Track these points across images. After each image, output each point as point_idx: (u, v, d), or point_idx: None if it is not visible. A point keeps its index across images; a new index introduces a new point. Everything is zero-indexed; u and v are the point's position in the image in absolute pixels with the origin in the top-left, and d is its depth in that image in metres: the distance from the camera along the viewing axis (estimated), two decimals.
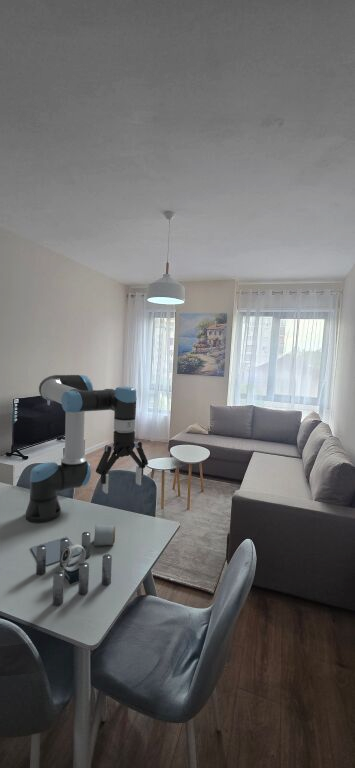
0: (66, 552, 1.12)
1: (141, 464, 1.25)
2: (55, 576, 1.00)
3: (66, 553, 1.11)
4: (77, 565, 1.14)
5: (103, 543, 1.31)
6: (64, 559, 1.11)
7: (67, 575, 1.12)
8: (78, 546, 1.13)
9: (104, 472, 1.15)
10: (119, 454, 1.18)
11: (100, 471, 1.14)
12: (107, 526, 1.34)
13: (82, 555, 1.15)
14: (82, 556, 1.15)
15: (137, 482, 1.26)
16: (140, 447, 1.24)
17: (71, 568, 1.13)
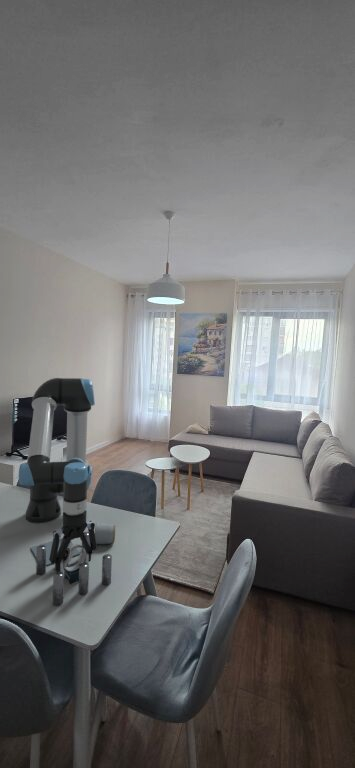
0: (66, 552, 1.12)
1: (88, 549, 1.15)
2: (55, 576, 1.00)
3: (66, 553, 1.11)
4: (77, 565, 1.14)
5: (103, 542, 1.32)
6: (64, 559, 1.11)
7: (67, 575, 1.12)
8: (78, 546, 1.13)
9: (58, 561, 1.08)
10: (69, 538, 1.09)
11: (53, 561, 1.07)
12: (107, 525, 1.35)
13: (82, 555, 1.15)
14: (82, 556, 1.15)
15: None
16: (92, 529, 1.15)
17: (71, 568, 1.13)
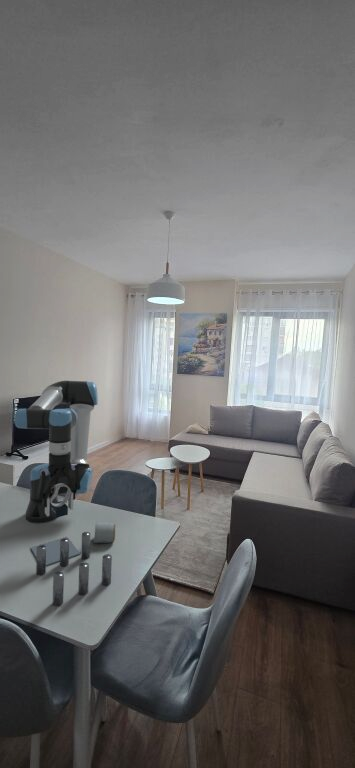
0: (52, 489, 1.23)
1: (73, 488, 1.26)
2: (55, 576, 1.00)
3: (52, 490, 1.23)
4: (62, 502, 1.25)
5: (103, 540, 1.33)
6: (50, 495, 1.22)
7: (53, 510, 1.23)
8: (63, 484, 1.24)
9: (44, 496, 1.20)
10: (55, 476, 1.21)
11: (40, 496, 1.18)
12: (107, 524, 1.36)
13: (67, 493, 1.26)
14: (67, 494, 1.26)
15: (69, 506, 1.27)
16: (76, 470, 1.26)
17: (57, 504, 1.24)
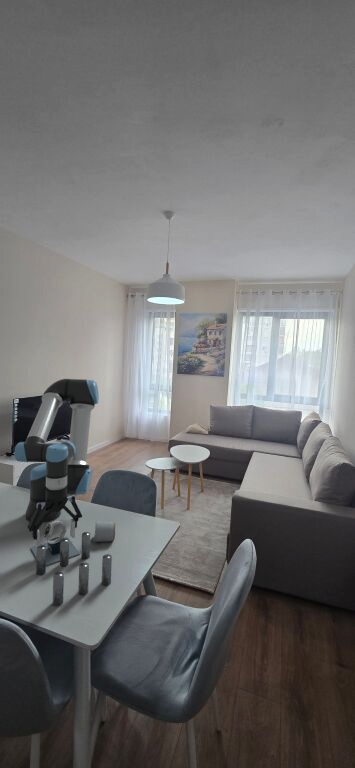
0: (47, 527, 1.25)
1: (74, 517, 1.30)
2: (55, 576, 1.00)
3: (47, 528, 1.25)
4: (59, 538, 1.28)
5: (103, 539, 1.34)
6: (46, 533, 1.24)
7: (49, 547, 1.26)
8: (58, 522, 1.27)
9: (35, 529, 1.21)
10: (50, 510, 1.23)
11: (30, 528, 1.20)
12: (107, 523, 1.37)
13: (63, 530, 1.29)
14: (63, 530, 1.29)
15: (71, 534, 1.31)
16: (73, 501, 1.29)
17: (53, 541, 1.27)
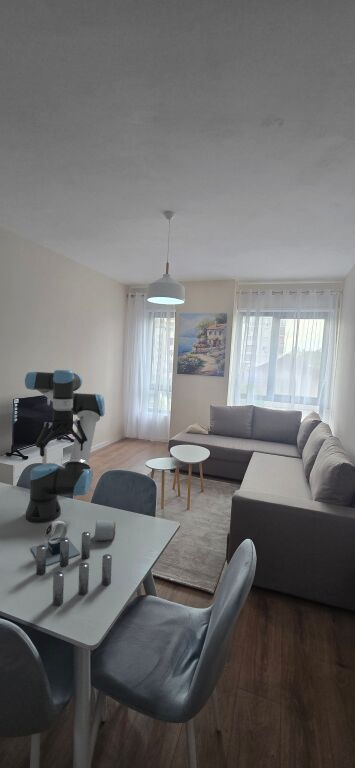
0: (49, 527, 1.26)
1: (80, 440, 1.38)
2: (55, 576, 1.00)
3: (49, 528, 1.25)
4: (59, 539, 1.28)
5: (104, 538, 1.35)
6: (47, 533, 1.25)
7: (50, 547, 1.26)
8: (60, 522, 1.27)
9: (42, 445, 1.28)
10: (57, 430, 1.31)
11: (38, 444, 1.27)
12: (107, 521, 1.37)
13: (64, 530, 1.29)
14: (64, 531, 1.29)
15: (77, 457, 1.39)
16: (79, 425, 1.37)
17: (54, 541, 1.27)
